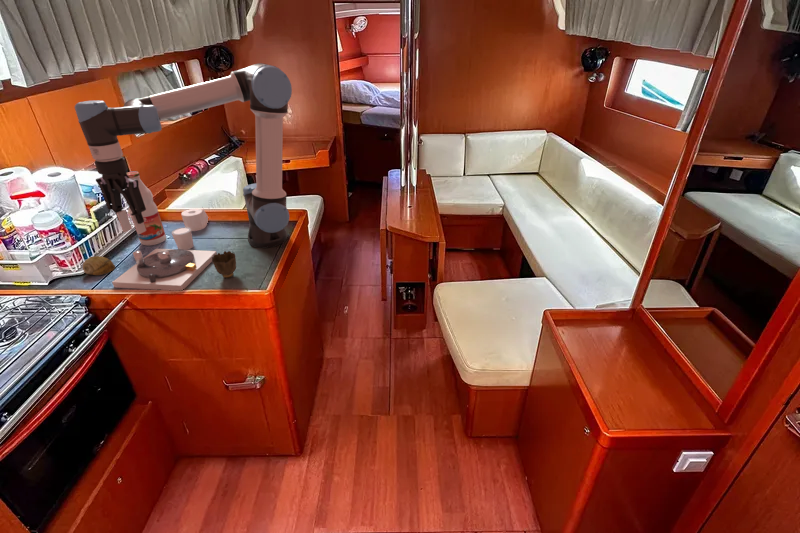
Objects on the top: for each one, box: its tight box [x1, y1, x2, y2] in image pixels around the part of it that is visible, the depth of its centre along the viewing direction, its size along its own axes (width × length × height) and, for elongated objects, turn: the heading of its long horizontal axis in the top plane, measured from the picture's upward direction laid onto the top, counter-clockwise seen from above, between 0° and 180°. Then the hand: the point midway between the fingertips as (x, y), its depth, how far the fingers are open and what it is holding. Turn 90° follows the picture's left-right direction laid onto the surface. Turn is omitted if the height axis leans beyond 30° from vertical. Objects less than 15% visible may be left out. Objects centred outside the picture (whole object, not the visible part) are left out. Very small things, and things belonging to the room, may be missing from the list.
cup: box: [212, 250, 237, 279], centre depth 143 cm, size 8×7×8 cm
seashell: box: [82, 255, 116, 277], centre depth 149 cm, size 10×7×8 cm
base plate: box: [111, 248, 218, 291], centre depth 148 cm, size 24×24×5 cm
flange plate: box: [132, 248, 197, 278], centre depth 146 cm, size 18×20×7 cm
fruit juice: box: [126, 170, 167, 247], centre depth 163 cm, size 9×9×28 cm
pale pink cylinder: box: [171, 226, 195, 250], centre depth 164 cm, size 7×7×7 cm
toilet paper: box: [180, 206, 209, 232], centre depth 181 cm, size 8×11×7 cm
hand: (134, 231), depth 134 cm, fingers open, 5 cm apart
